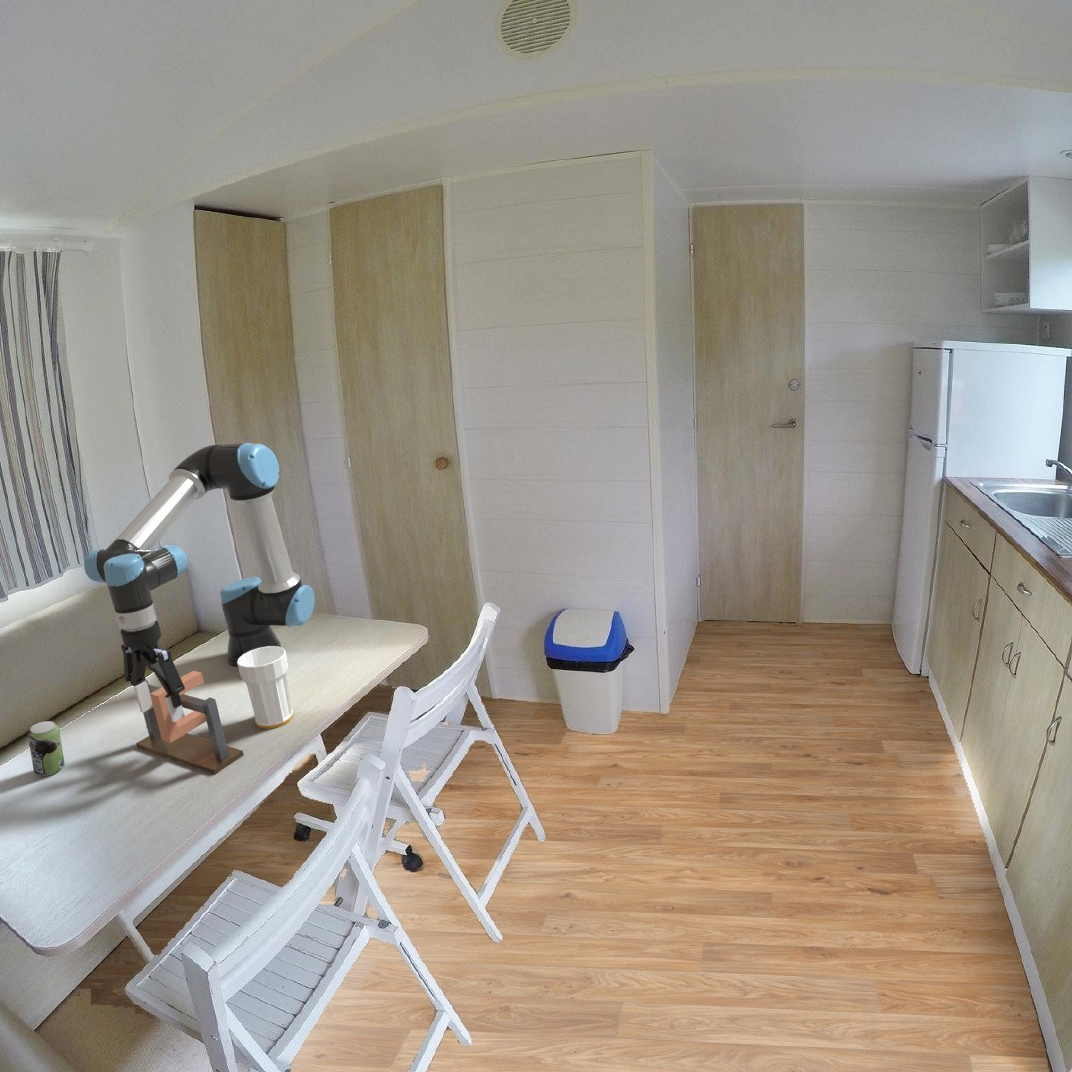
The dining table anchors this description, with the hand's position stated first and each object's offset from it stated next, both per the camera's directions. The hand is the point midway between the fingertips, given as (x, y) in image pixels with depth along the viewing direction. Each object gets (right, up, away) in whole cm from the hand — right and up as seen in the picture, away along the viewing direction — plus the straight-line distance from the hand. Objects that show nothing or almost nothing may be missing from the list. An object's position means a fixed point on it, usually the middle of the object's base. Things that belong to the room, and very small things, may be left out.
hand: (162, 714), depth 174 cm
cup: (+19, -6, +18) cm, 27 cm away
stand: (+3, -10, +7) cm, 13 cm away
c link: (+3, -5, +6) cm, 8 cm away
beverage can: (-27, -14, +4) cm, 31 cm away
